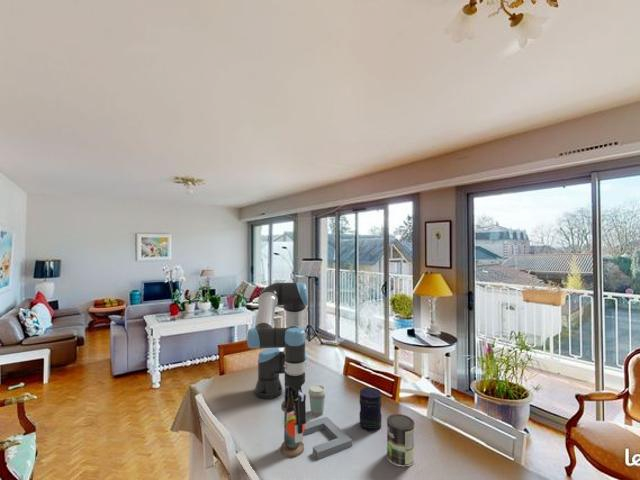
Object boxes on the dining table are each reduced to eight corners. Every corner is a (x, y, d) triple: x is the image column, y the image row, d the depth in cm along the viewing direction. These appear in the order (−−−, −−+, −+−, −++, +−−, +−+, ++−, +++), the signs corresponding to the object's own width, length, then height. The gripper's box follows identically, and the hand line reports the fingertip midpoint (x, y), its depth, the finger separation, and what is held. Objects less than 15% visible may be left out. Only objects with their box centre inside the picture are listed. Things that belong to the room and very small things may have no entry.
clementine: (287, 444, 109) (287, 424, 109) (280, 434, 115) (280, 414, 115) (308, 438, 112) (308, 418, 112) (300, 428, 118) (300, 409, 119)
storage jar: (383, 421, 144) (383, 389, 145) (379, 433, 135) (379, 398, 136) (361, 417, 148) (361, 386, 148) (357, 429, 138) (357, 395, 139)
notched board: (295, 432, 136) (295, 426, 136) (326, 422, 144) (326, 416, 144) (317, 459, 119) (317, 452, 119) (352, 446, 127) (352, 439, 127)
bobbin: (277, 446, 126) (277, 401, 126) (297, 440, 130) (297, 396, 131) (286, 459, 118) (286, 411, 119) (307, 452, 123) (307, 406, 123)
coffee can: (391, 468, 114) (391, 429, 114) (383, 450, 124) (383, 414, 125) (418, 466, 115) (418, 428, 115) (408, 448, 125) (408, 413, 125)
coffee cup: (324, 418, 147) (324, 393, 147) (306, 416, 148) (306, 391, 149) (327, 409, 155) (327, 385, 155) (310, 407, 157) (310, 383, 157)
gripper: (275, 364, 121) (275, 424, 120) (296, 384, 104) (296, 454, 103) (293, 361, 125) (292, 419, 124) (316, 380, 107) (316, 447, 107)
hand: (294, 435), depth 114 cm, fingers closed on clementine, 7 cm apart
